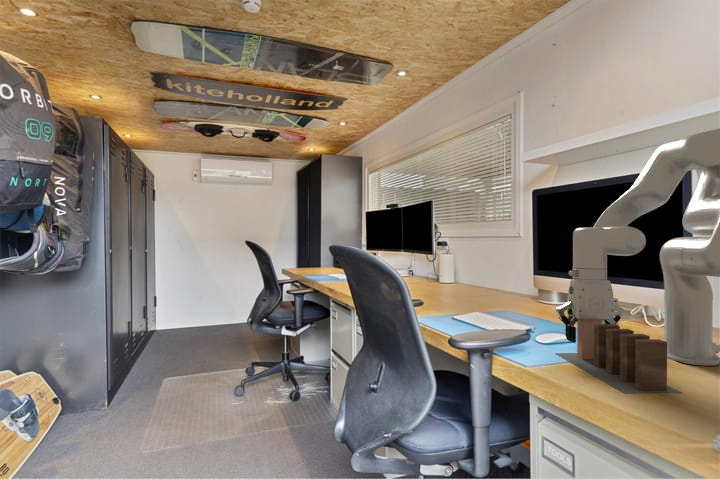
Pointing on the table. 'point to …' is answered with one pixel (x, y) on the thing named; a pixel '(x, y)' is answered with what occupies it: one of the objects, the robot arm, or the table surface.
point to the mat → (608, 375)
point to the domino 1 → (586, 338)
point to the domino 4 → (629, 355)
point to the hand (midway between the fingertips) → (589, 340)
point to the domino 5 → (651, 365)
